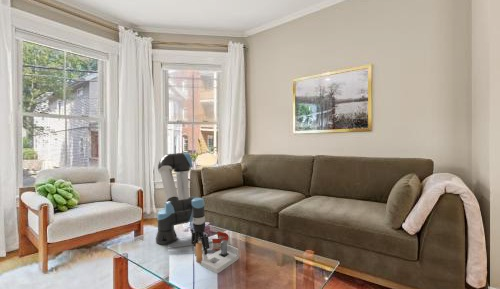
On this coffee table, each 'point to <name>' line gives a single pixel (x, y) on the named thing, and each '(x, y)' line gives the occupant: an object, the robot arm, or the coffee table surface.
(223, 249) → the grey pin
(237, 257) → the housing
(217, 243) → the toy
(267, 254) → the coffee table surface
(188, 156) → the robot arm
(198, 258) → the orange pin
